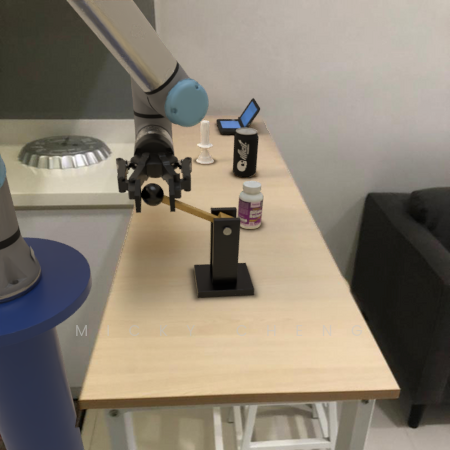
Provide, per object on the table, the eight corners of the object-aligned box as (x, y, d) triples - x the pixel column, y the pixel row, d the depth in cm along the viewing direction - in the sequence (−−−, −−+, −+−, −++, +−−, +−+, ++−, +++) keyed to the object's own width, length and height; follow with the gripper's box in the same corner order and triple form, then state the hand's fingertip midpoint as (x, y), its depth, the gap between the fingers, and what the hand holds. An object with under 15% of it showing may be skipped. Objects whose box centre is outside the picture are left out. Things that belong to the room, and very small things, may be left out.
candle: (197, 164, 136) (197, 122, 129) (194, 158, 140) (194, 116, 133) (215, 163, 137) (216, 121, 130) (212, 157, 141) (213, 116, 134)
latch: (137, 204, 73) (146, 184, 71) (138, 195, 76) (146, 176, 74) (229, 239, 79) (238, 222, 77) (226, 230, 81) (235, 212, 80)
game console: (215, 122, 172) (216, 96, 167) (252, 123, 174) (254, 97, 168) (219, 135, 160) (220, 107, 154) (258, 135, 161) (260, 108, 156)
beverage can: (229, 176, 129) (231, 132, 122) (236, 168, 134) (238, 125, 127) (252, 179, 127) (255, 135, 120) (258, 171, 132) (261, 128, 125)
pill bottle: (252, 232, 102) (255, 190, 97) (232, 225, 105) (234, 184, 99) (265, 223, 106) (269, 183, 100) (246, 217, 108) (249, 177, 103)
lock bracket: (197, 297, 81) (197, 226, 73) (193, 270, 89) (193, 203, 81) (253, 294, 83) (259, 224, 75) (245, 268, 90) (250, 201, 82)
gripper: (200, 170, 91) (213, 224, 73) (109, 172, 89) (98, 228, 70) (200, 131, 87) (213, 178, 68) (104, 132, 85) (91, 181, 66)
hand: (155, 203), depth 69 cm, fingers closed on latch, 4 cm apart
